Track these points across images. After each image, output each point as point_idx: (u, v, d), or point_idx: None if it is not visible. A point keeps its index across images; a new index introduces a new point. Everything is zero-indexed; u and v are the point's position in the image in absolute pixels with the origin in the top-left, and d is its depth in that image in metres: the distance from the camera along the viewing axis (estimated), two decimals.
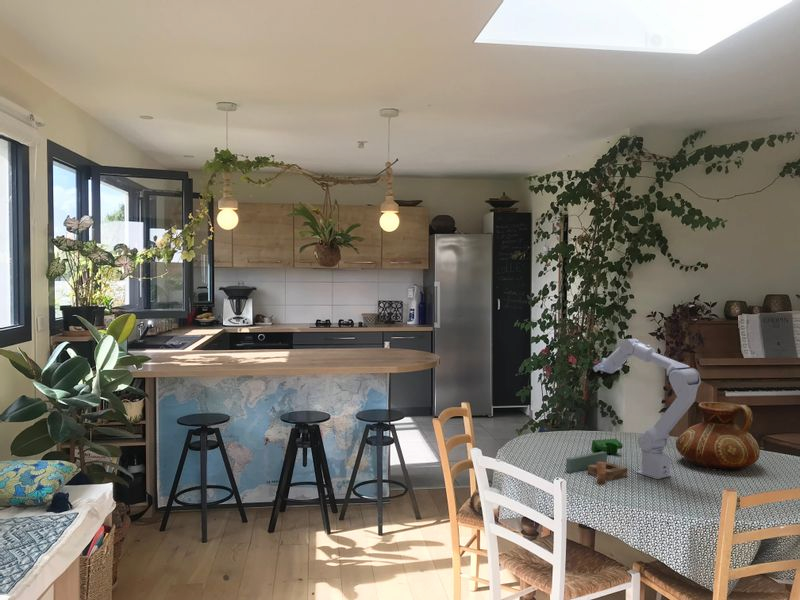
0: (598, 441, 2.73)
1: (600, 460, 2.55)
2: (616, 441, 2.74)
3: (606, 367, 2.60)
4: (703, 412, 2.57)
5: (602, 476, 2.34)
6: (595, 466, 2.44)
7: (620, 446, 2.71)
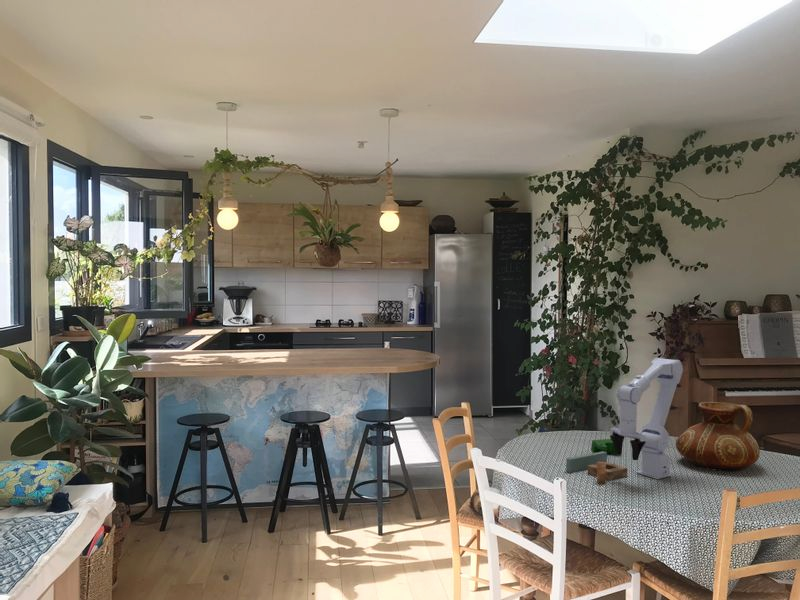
0: (598, 441, 2.73)
1: (600, 460, 2.55)
2: None
3: (635, 431, 2.33)
4: (703, 412, 2.57)
5: (602, 476, 2.34)
6: (595, 466, 2.44)
7: None
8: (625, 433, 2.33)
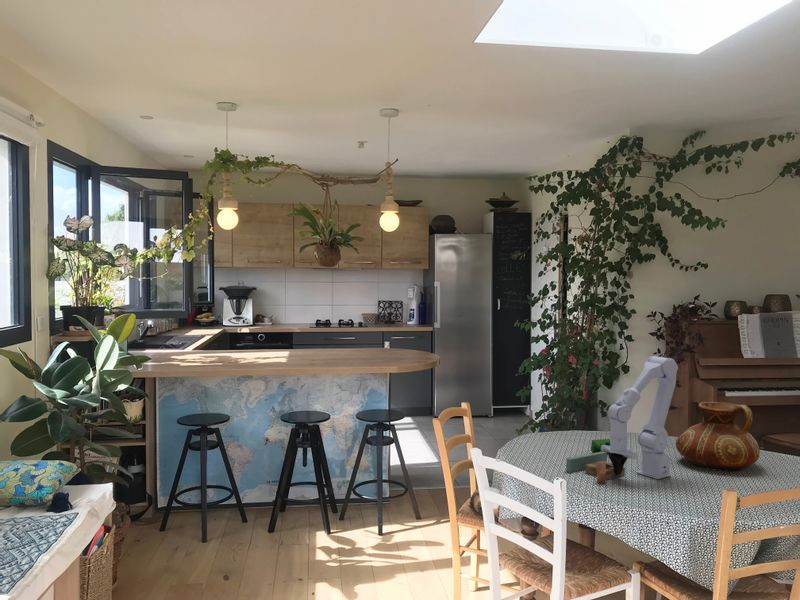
0: (597, 441, 2.73)
1: (600, 460, 2.55)
2: None
3: (625, 449, 2.38)
4: (703, 412, 2.57)
5: (602, 476, 2.34)
6: (593, 465, 2.45)
7: None
8: (616, 451, 2.37)
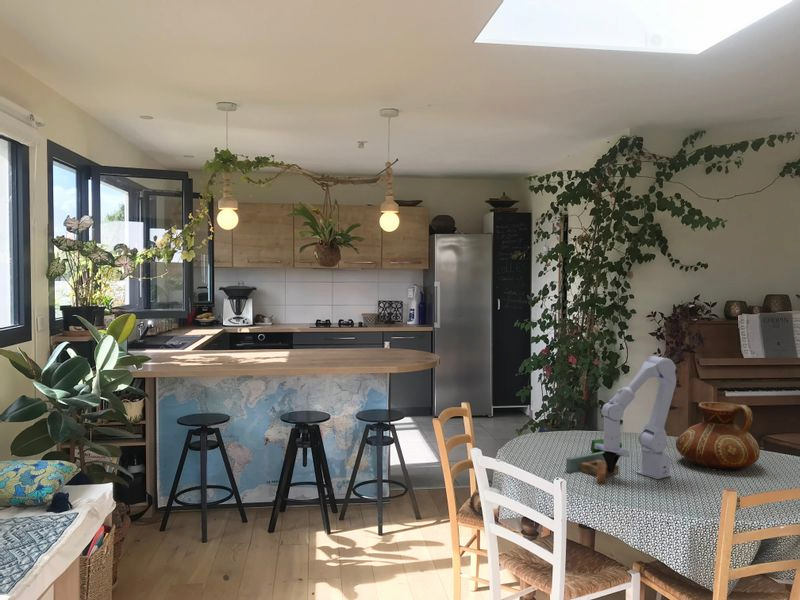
0: (597, 441, 2.73)
1: None
2: None
3: (618, 447, 2.40)
4: (703, 412, 2.57)
5: (602, 476, 2.34)
6: (587, 463, 2.48)
7: None
8: (609, 449, 2.40)
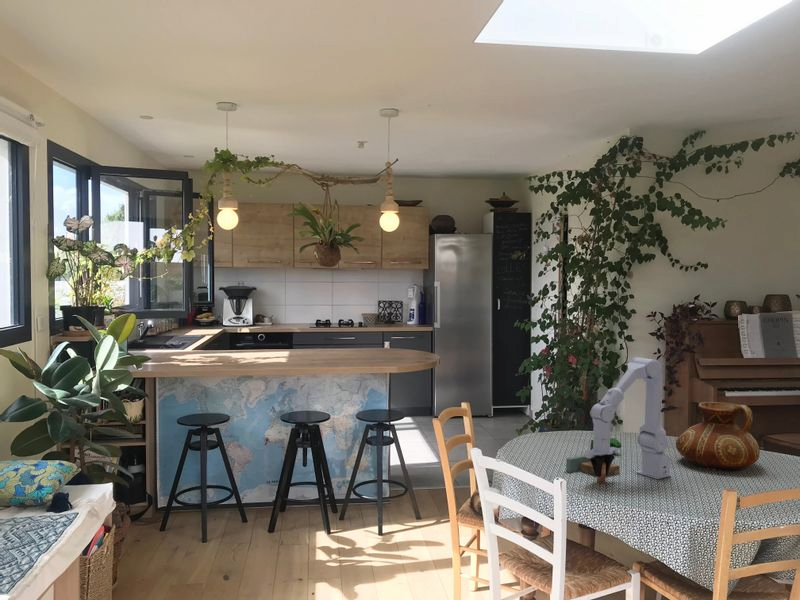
0: None
1: None
2: (615, 440, 2.75)
3: None
4: (703, 412, 2.57)
5: (602, 476, 2.34)
6: (587, 464, 2.48)
7: (619, 446, 2.72)
8: (610, 451, 2.33)
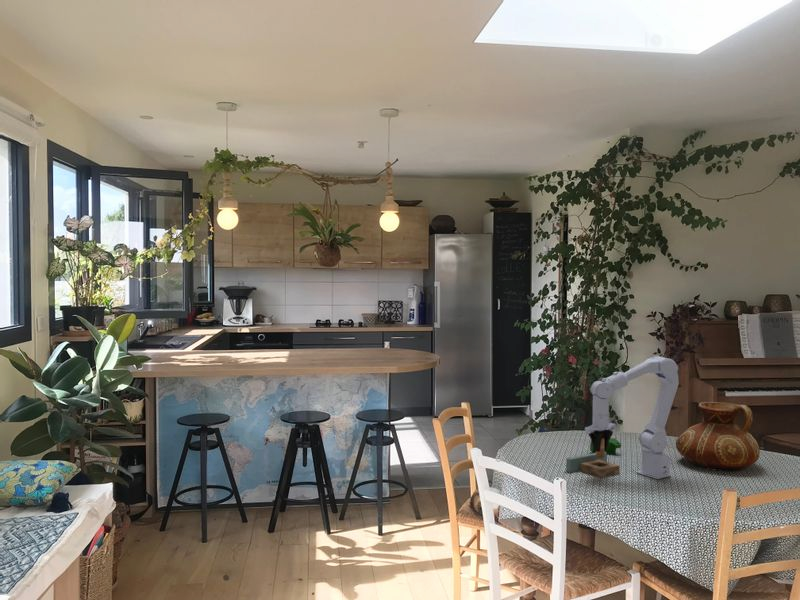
0: None
1: None
2: (615, 440, 2.75)
3: None
4: (703, 412, 2.57)
5: (601, 451, 2.42)
6: (587, 464, 2.48)
7: (619, 445, 2.72)
8: (608, 426, 2.41)
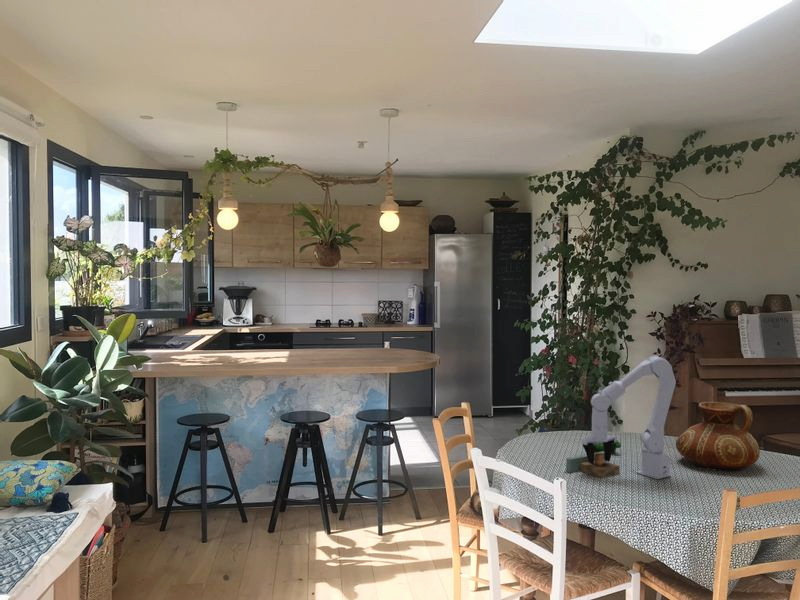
0: None
1: None
2: None
3: None
4: (703, 412, 2.57)
5: (599, 466, 2.46)
6: (587, 464, 2.48)
7: (618, 445, 2.72)
8: (607, 439, 2.45)
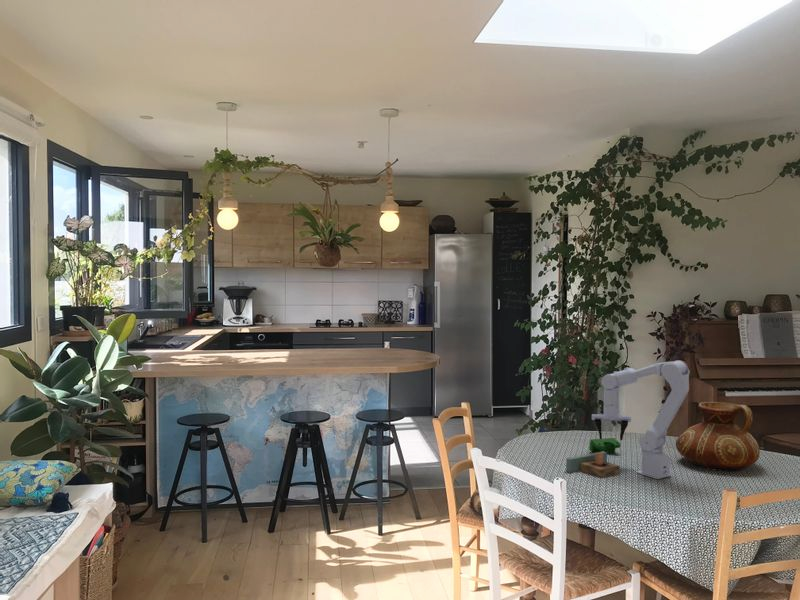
0: (596, 440, 2.74)
1: None
2: (614, 440, 2.76)
3: None
4: (703, 412, 2.57)
5: (599, 466, 2.46)
6: (587, 464, 2.48)
7: (618, 445, 2.72)
8: (615, 417, 2.53)
